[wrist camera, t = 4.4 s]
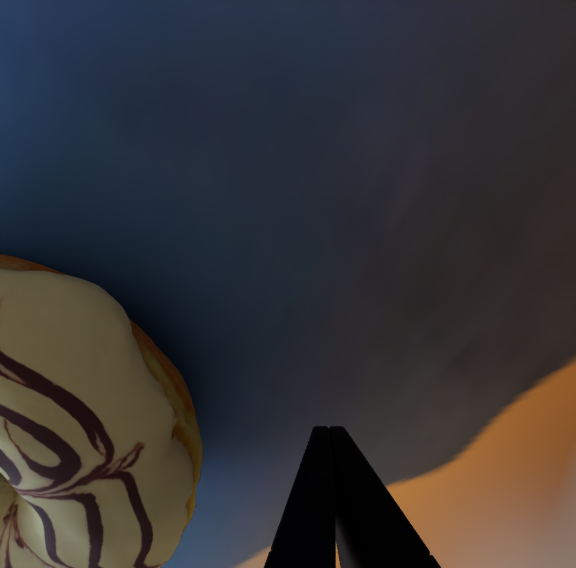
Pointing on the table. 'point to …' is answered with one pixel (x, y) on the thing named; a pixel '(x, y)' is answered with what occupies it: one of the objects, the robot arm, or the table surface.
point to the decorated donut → (88, 429)
